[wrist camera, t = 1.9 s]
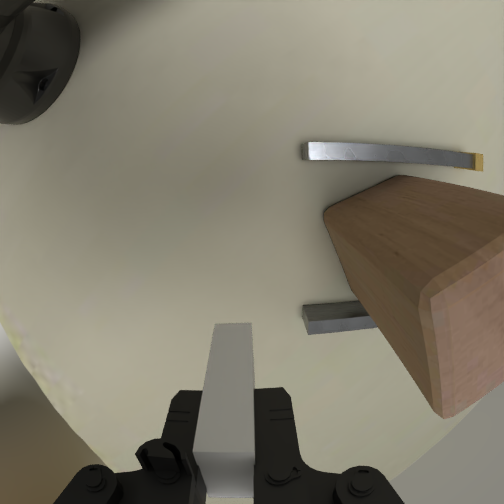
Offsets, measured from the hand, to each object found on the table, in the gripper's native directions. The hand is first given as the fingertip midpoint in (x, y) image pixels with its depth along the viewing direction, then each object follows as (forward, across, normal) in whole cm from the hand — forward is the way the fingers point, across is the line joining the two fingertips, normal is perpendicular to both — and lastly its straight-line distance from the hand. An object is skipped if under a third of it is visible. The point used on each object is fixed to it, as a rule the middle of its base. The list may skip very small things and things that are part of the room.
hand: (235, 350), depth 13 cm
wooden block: (+19, +14, 0) cm, 23 cm away
